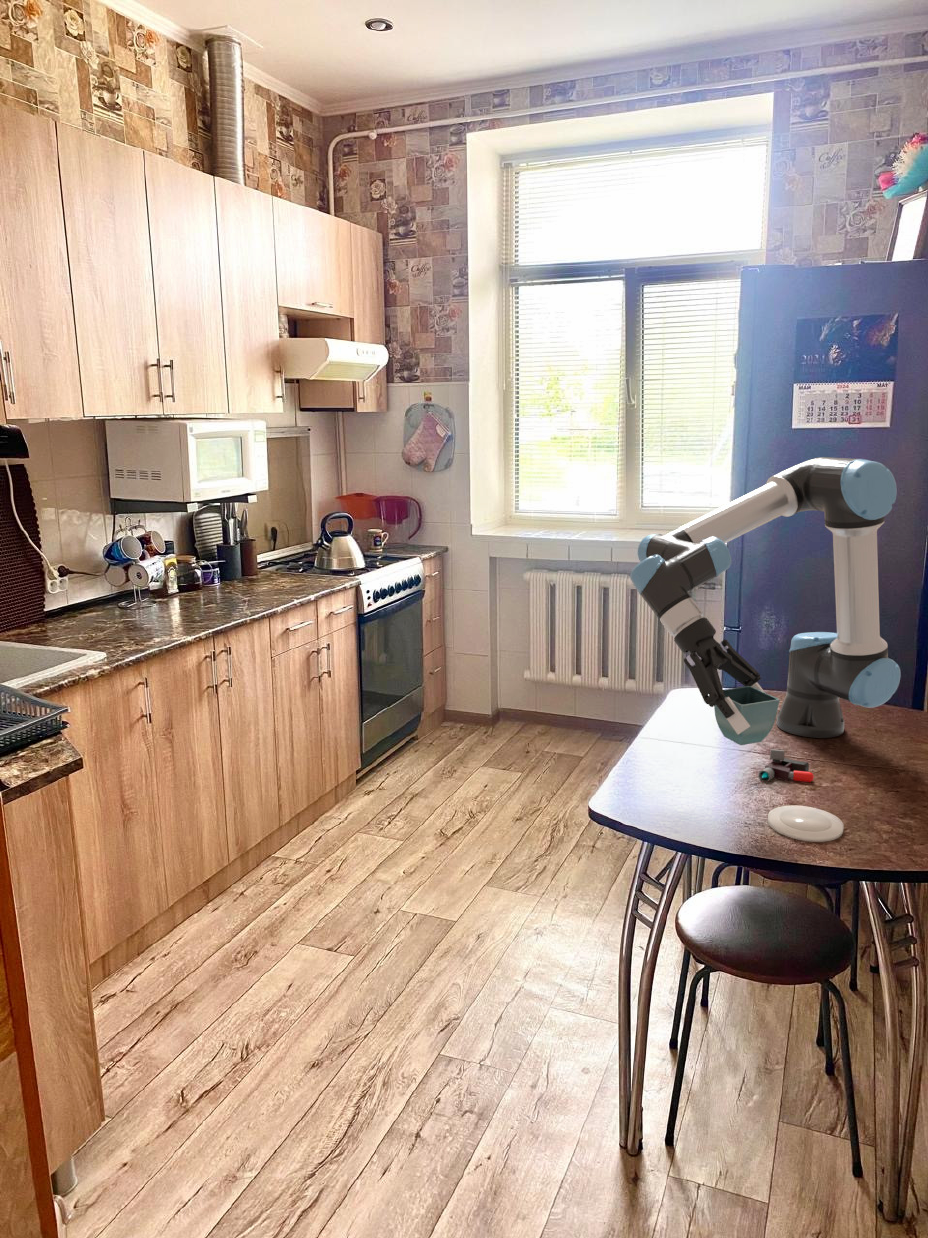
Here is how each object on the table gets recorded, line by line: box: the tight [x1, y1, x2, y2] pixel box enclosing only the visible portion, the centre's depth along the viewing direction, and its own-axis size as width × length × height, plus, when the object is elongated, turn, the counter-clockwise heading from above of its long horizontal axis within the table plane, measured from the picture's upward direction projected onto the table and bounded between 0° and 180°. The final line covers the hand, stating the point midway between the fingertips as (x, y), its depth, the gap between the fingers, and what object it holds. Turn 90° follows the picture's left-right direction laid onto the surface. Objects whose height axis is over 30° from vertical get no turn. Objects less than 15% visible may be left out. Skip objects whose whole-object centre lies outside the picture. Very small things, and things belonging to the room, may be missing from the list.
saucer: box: [767, 804, 844, 843], centre depth 170 cm, size 13×13×1 cm
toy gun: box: [758, 748, 815, 783], centre depth 192 cm, size 10×12×5 cm
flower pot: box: [713, 686, 780, 746], centre depth 174 cm, size 9×9×9 cm
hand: (758, 722), depth 172 cm, fingers closed on flower pot, 11 cm apart
